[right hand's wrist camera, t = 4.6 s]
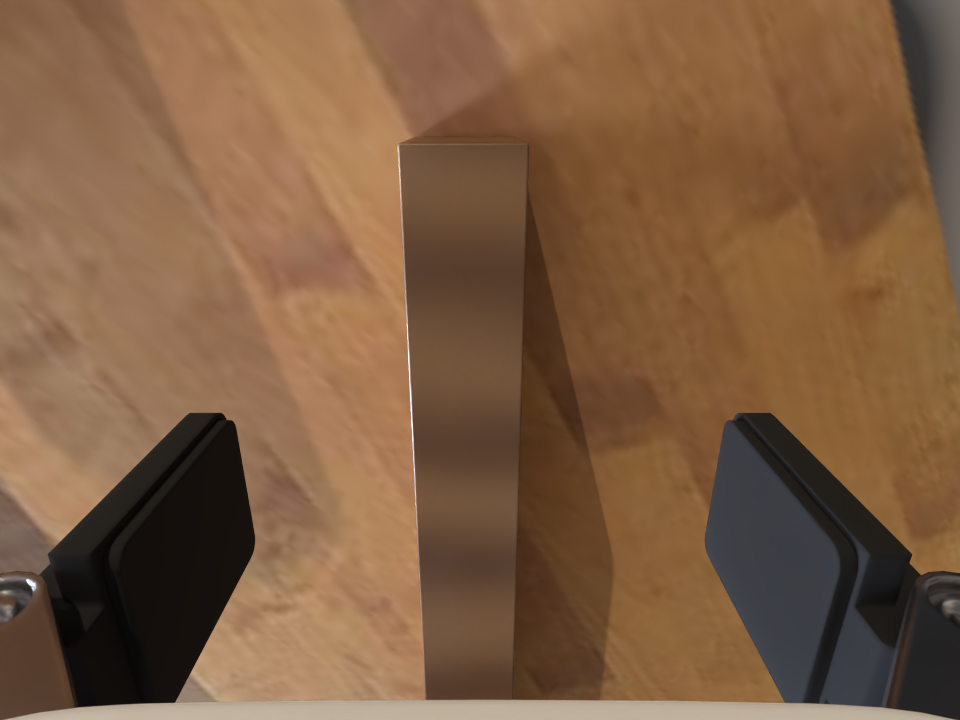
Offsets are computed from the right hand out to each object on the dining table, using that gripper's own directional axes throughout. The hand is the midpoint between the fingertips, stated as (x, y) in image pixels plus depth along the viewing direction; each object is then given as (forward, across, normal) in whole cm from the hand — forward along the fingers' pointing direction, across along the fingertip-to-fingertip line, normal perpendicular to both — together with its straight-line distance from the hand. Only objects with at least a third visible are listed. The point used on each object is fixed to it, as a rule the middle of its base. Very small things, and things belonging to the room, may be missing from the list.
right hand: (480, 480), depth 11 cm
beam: (+19, -1, -21) cm, 28 cm away
